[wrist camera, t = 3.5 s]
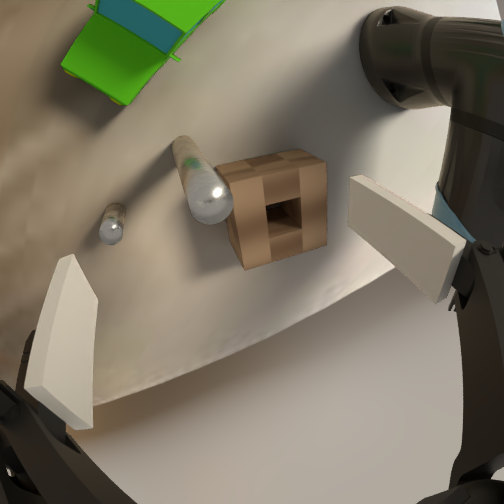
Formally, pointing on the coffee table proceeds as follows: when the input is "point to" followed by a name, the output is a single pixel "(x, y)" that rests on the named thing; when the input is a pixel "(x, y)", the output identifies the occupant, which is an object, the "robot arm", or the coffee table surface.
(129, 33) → the toy car
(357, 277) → the coffee table surface
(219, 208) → the long pin
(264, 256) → the hole block
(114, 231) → the short pin
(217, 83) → the coffee table surface
